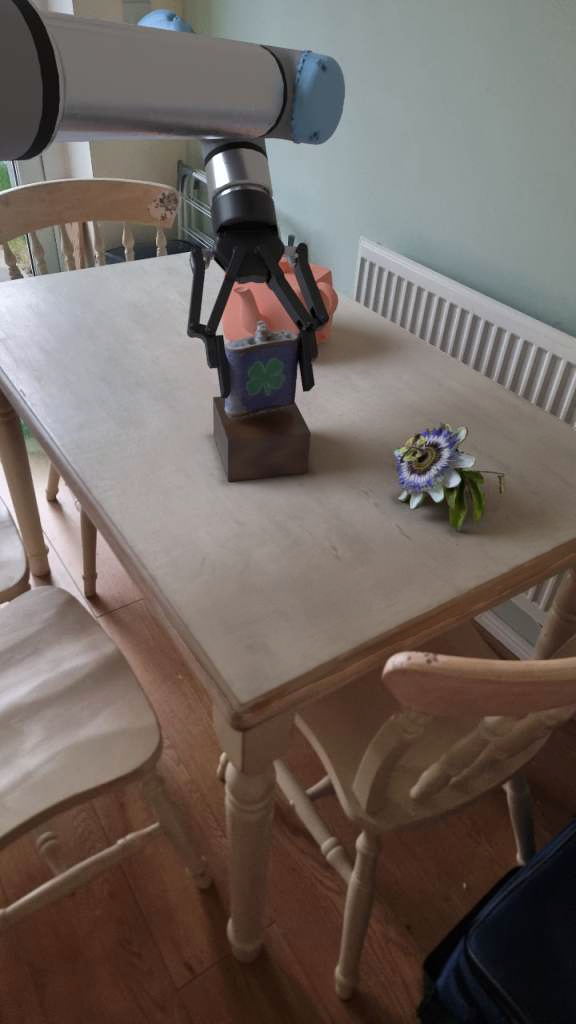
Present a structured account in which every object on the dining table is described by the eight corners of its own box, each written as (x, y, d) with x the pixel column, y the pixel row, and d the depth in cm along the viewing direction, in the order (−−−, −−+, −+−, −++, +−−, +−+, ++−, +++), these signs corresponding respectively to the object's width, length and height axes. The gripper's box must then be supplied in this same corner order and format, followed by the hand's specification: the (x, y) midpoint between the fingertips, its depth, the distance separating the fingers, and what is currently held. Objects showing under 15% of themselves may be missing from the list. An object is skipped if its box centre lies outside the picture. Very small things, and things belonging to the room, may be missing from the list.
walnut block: (227, 482, 84) (227, 440, 80) (213, 436, 91) (212, 396, 87) (307, 473, 86) (311, 432, 82) (287, 429, 93) (289, 390, 89)
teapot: (181, 353, 108) (176, 266, 100) (246, 311, 122) (247, 231, 113) (292, 390, 101) (299, 299, 93) (349, 341, 115) (359, 258, 106)
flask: (229, 420, 81) (230, 335, 75) (220, 408, 83) (219, 324, 76) (299, 405, 85) (305, 323, 78) (288, 394, 87) (293, 313, 80)
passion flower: (398, 534, 86) (370, 442, 84) (474, 505, 88) (448, 414, 86) (440, 547, 75) (408, 442, 73) (525, 512, 77) (496, 409, 75)
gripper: (322, 217, 87) (348, 392, 85) (146, 221, 82) (170, 407, 80) (339, 184, 80) (368, 375, 78) (147, 186, 75) (174, 390, 73)
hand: (268, 391), depth 79 cm, fingers closed on flask, 9 cm apart
